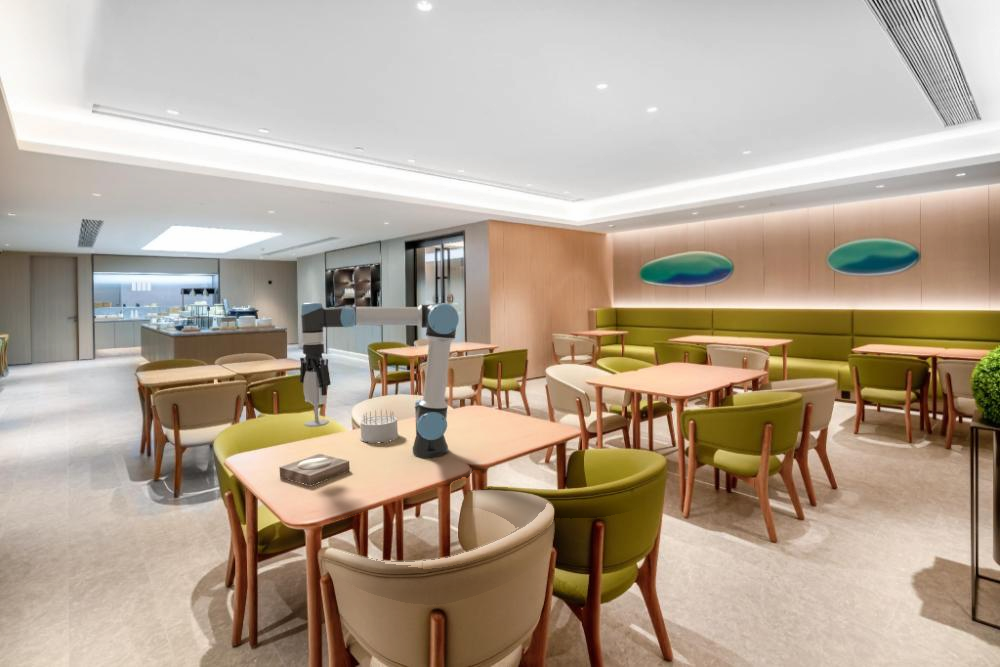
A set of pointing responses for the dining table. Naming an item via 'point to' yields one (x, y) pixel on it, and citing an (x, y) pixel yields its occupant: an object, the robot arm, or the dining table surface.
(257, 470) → the dining table surface
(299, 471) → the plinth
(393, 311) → the robot arm
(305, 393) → the wineglass
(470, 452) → the dining table surface
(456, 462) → the dining table surface
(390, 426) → the cake
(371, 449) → the dining table surface
